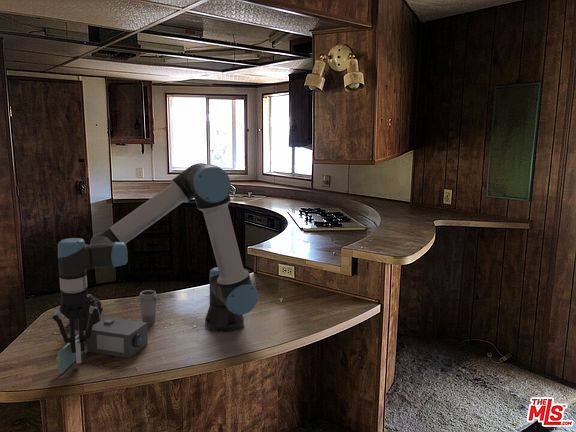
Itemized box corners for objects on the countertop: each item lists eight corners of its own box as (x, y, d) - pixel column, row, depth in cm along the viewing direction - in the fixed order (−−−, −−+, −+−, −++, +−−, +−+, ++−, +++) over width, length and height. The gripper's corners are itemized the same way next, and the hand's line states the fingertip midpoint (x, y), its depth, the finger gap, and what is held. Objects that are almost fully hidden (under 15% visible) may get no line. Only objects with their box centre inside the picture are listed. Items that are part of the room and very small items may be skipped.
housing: (151, 344, 160) (150, 320, 158) (133, 359, 149) (132, 333, 148) (107, 338, 164) (106, 314, 162) (86, 351, 153) (85, 327, 152)
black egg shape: (83, 343, 159) (81, 301, 157) (65, 335, 165) (63, 295, 162) (108, 333, 168) (106, 293, 166) (90, 326, 173) (88, 288, 171)
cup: (161, 322, 179) (160, 293, 177) (145, 327, 174) (145, 297, 172) (151, 317, 184) (150, 288, 182) (136, 321, 179) (135, 292, 177)
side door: (62, 373, 138) (60, 352, 137) (55, 373, 138) (54, 352, 137) (86, 350, 153) (85, 330, 152) (80, 350, 153) (79, 330, 152)
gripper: (94, 282, 145) (98, 351, 149) (49, 288, 139) (54, 360, 143) (98, 289, 139) (102, 361, 143) (51, 296, 132) (56, 371, 136)
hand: (78, 361), depth 143 cm, fingers closed
